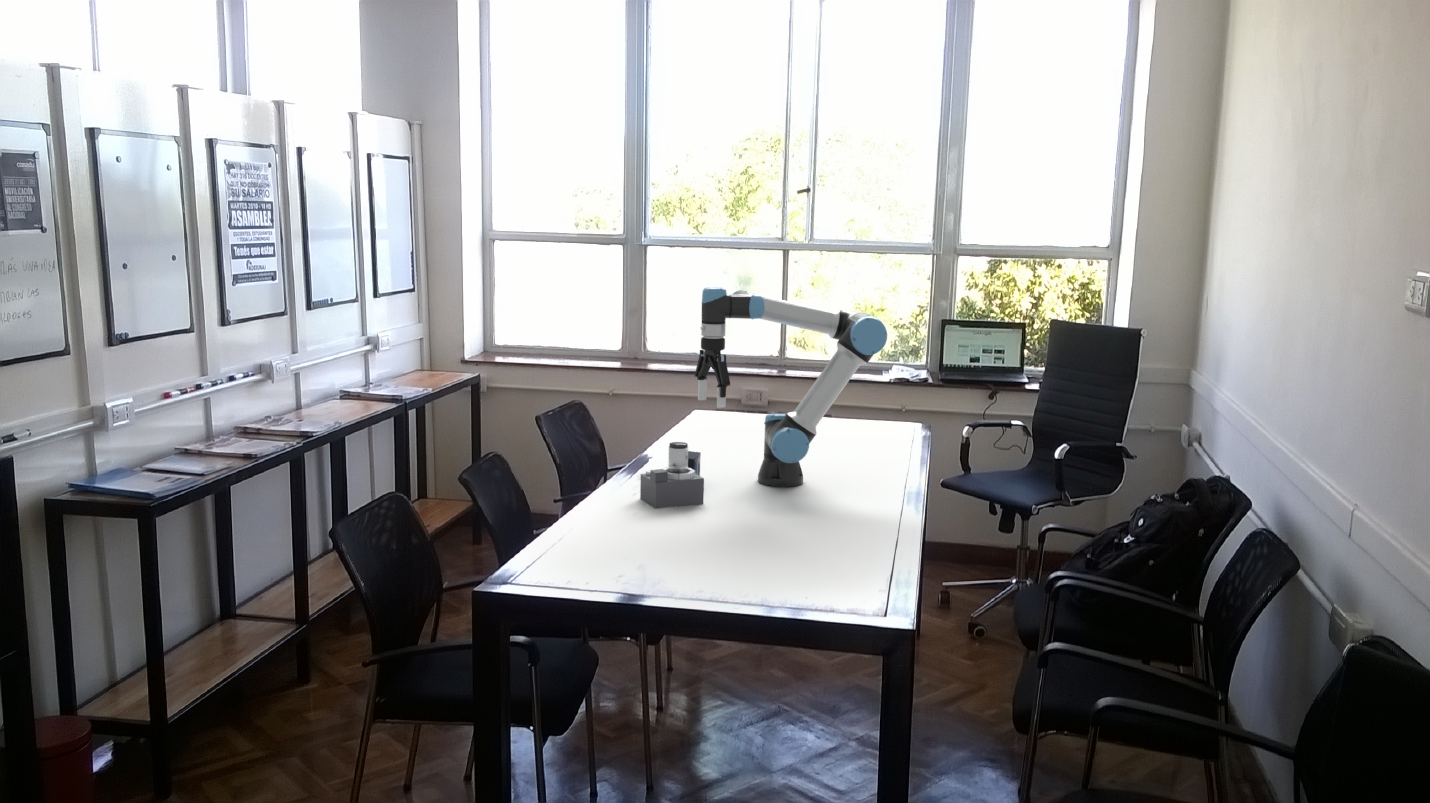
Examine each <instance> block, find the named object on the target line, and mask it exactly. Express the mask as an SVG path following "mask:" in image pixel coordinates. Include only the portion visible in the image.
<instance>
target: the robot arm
mask: <svg viewBox="0 0 1430 803" xmlns="http://www.w3.org/2000/svg"><path fill="white" fill-rule="evenodd" d="M701 294H702V295H701V326H700V330H701V332H700V333H701V334H700V335H701V336H702V337H701V338H700V350H699V357H698V359H697V360H698V361H697V364H696V369H695V372H694V377H695V378H697V400H698V401H707V393H708V392H707V386H708V384H707V383H708V382H707V381H708V374H709V372H710V370H711V369H712V370H713V372H714V375H715V379H716V382H717V383H718V384H717V386H716V388H717V390H716V408H717V409H718V408H719V409H721V408H722V409H723V408H726V407H727V405H726V402H727V388H728V387H729V386H731V380H730V376H729V371H728V364H727V355H726V354H721V353H722V352H721V351H723V350H725V348H726V338H725V337H726V325H727V324H726V319H744V320H745V319H748V320H754V319H755V320H756V319H760V320H763V321H769V322H773V323H777V324H782V325H787V326H789V327H790V326H791V327H795V328H798V329H799V328H800V329H804V330H807V331H813V332H817V333H821V334H826V335H828V336H829V337H830V338H831V339H834V340H838V341H837V342H836V347H837V349H836V350H837V351H836V352H835V353H834V355H833V356H832V358H831V359H830V360H829V362H828V363H827V364H826V365H825V367H824V368H823V370H822V372H821V373H820V374H819V375H818V377H817V378H816V379H815V381H814V383H812V385H811V387H810V388H809V389H808V391H807V392H806V394H805V395H804V396H803V398H802V400H801V401H800V402H799V403H798V405H797V406H796V408H795V409H794V410H792V411H789V412H786V413H769V414H766V415H765V418H764V423H763V424H764V442H763V443H764V445H763V460H762V463H761V465H760V469H759V470H758V473H757V481H758V483H760V484H762V485H764V486H765V485H766V486H770V487H777V488H779V487H780V488H781V487H782V488H783V487H784V488H785V487H786V488H787V487H790V488H791V487H796V486H797V487H798V486H800V485H802V484H803V483H804V475H803V471H802V467H801V462H800V461H802V460H803V459H804V458H805V457H806V455H807V454H808V452H809V448H810V444H811V442H812V441H813V440H814V438H815V437H816V436H817V425H819V423H820V422H821V420H822V419H823V418H824V416H825V415H826V413H827V412H828V410H829V409H831V407H832V405H833V404H834V403H835V401H836V400H837V398H838V396H840V394H841V392H842V391H843V390H844V388H845V387H846V385H847V384H848V383H849V381H850V379H851V378H852V377H853V376H854V374H855V373H856V372H857V370H858V369H859V367H860V366H863V365H864V366H865V365H867V364H868V363H869V362H870V361H871V359H872V357H873V356H874V355H876V354H878V353H879V352H880V351H882V350H883V349H884V347H885V345H886V344H887V341H888V331H887V328H886V326H885V324H884V323H883V322H882V321H881V319H879V318H878V317H877V316H874V315H871V314H869V313H866V312H859V311H849V310H843V309H838V308H837V309H835V310H827V309H825V308H824V309H823V308H820V307H816V306H810V305H806V304H801V303H797V302H792V301H788V300H783V299H779V298H774V297H771V296H766V295H762V294H756V293H751V292H748V291H746V290H743V289H740V290H737V291H735V292H734V291H733V293H728V292H727V289H726V288H725V287H716V286H710V287H704V288H703V290H702V293H701Z"/></svg>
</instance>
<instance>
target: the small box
mask: <svg viewBox="0 0 1430 803" xmlns="http://www.w3.org/2000/svg"><path fill="white" fill-rule="evenodd" d="M701 453H702V452H700V451H690V450H688V468H691V469H693V470H695V474H697V475H699V476H700V477H701V455H702V454H701Z"/></svg>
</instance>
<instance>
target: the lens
mask: <svg viewBox="0 0 1430 803" xmlns="http://www.w3.org/2000/svg"><path fill="white" fill-rule="evenodd" d="M688 451H689V444H688V443H687V442H683V441H674V442H669V446H668V462H667V464H668V472H669V473H676V474H682V473H688Z"/></svg>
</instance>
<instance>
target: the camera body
mask: <svg viewBox="0 0 1430 803" xmlns="http://www.w3.org/2000/svg"><path fill="white" fill-rule="evenodd" d="M704 487H705V478H704V477H702V476H701V475H700V476H699V475H697V474H695V470H693V469H691V468H688V473H682V474H676V473H669V472H668V467H664V468H660V469H659V468H658V469H656V468H655V469H650V470H648V471H647V470H646V471H645V473H640V492H639V493H640V495H639V496H640V497H639V498H640V499H639V500H641V501H643V502H645V503H646V504H648V505H649V506H651V507H652V508H654V509H655V510H656V509H657V510H659V509H664V508H665V509H666V508H675V506H677V507H682V506H683V507H685V506H686V507H687V506H695V505H704V496H705V495H704V494H705V492H704V490H705V488H704Z"/></svg>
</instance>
